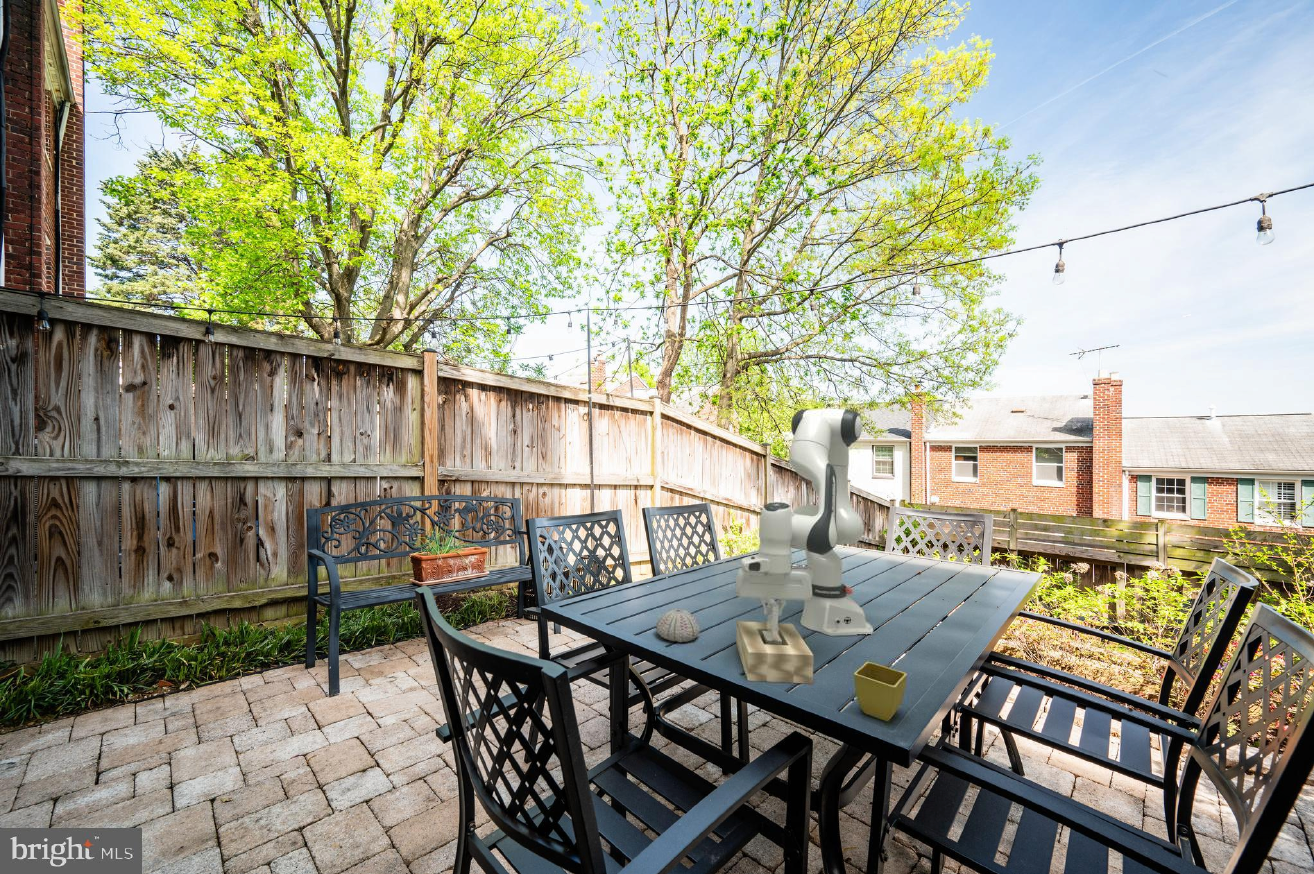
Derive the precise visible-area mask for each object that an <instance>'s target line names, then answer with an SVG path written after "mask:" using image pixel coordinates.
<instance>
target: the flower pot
mask: <svg viewBox="0 0 1314 874" xmlns="http://www.w3.org/2000/svg"><path fill="white" fill-rule="evenodd" d="M907 674H908V673H906V672H903V671H900V670H897V669H893V668H890V667H886V666H884V665H881V664H877V663H874V662H871V661H866V662H865V663H864V664H863V665H861V667H859V669H857V670H856V671H855V672H854V673H853V677H854V687H855V695H856V699H857V703H858V704H859V706H860V708H861V710H862V712H863V713H864V714H866V715H869V716H871V717H874V718H877V719H879V720H882V721H883V722H884V721H885V722H889V721H890V720H891V719H892V717H893V716H894V715H895V714H896V712H897V711H898V710H899V707H900V706H901V703H902V702H903V699H904V695H905V690H906V683H907V676H908V675H907Z"/></svg>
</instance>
